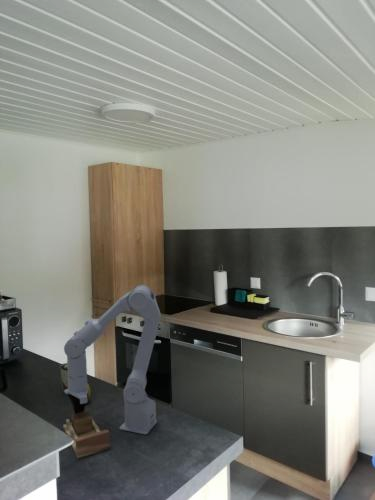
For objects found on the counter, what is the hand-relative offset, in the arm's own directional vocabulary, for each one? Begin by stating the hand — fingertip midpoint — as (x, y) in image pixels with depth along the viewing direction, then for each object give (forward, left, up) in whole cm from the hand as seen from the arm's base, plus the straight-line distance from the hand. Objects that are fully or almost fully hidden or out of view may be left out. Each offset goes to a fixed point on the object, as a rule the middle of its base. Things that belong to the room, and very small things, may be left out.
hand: (79, 416), depth 119 cm
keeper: (-3, +2, -2) cm, 4 cm away
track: (-5, +5, -3) cm, 8 cm away
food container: (+16, -20, -4) cm, 26 cm away
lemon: (+8, -13, -4) cm, 16 cm away
